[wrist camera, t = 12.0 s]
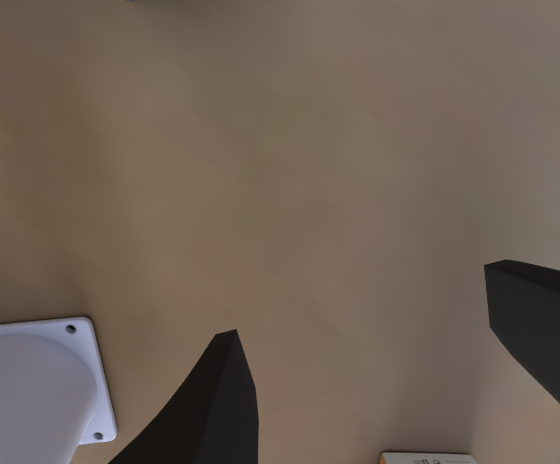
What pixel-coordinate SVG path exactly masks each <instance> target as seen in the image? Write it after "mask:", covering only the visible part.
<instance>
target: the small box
mask: <svg viewBox="0 0 560 464" xmlns="http://www.w3.org/2000/svg"><path fill="white" fill-rule="evenodd" d="M380 464H477V462H476V461H475V459H474V457H473V456H472V455H462V454H431V453H386V452H385V453H382V454H381V458H380Z"/></svg>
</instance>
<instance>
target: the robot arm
mask: <svg viewBox="0 0 560 464" xmlns="http://www.w3.org/2000/svg"><path fill="white" fill-rule="evenodd" d="M484 270H485V280H486V291H487V301H488V312H489V322H490V328H491V329H492V330H493V332H494V333H495V334H496V336H497V337H498V339H499V340H500V341H501V343H502V344H503V345H504V346H505V348H506V349H507V350H508V351H509V353H510V354H511V355H512V356H513V357H514V358H515V359H516V360H517V361H518V362H519V363H520V364H521V365H522V366H523V367H524V368H525V369H526V370H527V371H528V372H529V373H530V374H531V375H532V376H533V377H534V378H535V379H536V380H537V381H538V382H539V383H540V384H541V385H542V386H543V387H544V388H545V389H546V390H547V391H548V392H549V393H550V394H551V395H552V396H553V397H554V398H555V399H556V400H557V401H558V402H559V403H560V271H559V270H555V269H550V268H546V267H542V266H538V265H533V264H528V263H524V262H518V261H513V260H502V261H498V262H494V263H490V264H486V265H484ZM69 325H73V326H74V327H75V328H76V330H72V329H70V328H69ZM258 429H259V419H258V408H257V398H256V389H255V385H254V382H253V379H252V376H251V372H250V369H249V366H248V363H247V360H246V357H245V354H244V351H243V348H242V345H241V342H240V338H239V335H238V332H237V329H235V330H231V331H227V332H223V333H219V334H216V335H215V336H214V338H213V339H212V340H211V342H210V344H209V345H208V347H207V348H206V350H205V351H204V353H203V354H202V356H201V357H200V359H199V360H198V362H197V363H196V365H195V366H194V368H193V369H192V371H191V372H190V374H189V375H188V377H187V378H186V379H185V381H184V382H183V383H182V385H181V386H180V387H179V388H178V390H177V391H176V392H175V394H174V395H173V396H172V398H171V399H170V400H169V401H168V403H167V404H166V405H165V406H164V408H163V409H162V410H161V411H160V412H159V413H158V415H157V416H156V417H155V418H154V419H153V420H152V421H151V422H150V423H149V424H148V425H147V426H146V428H145V429H144V430H143V431H142V432H141V433H140V434H139V435H138V436H137V437H136V438H135V439H134V440H133V441H132V442H131V443H129V444H128V445H127V446H126V447H125V448H124V449H123V450H122V451H121V452H120V453H119V454H118V455H117V456H115V457H114V458H113V459H112V460H111V461H110V462H109V463H108V464H258ZM97 432H99V433H101V434H98V433H97ZM117 432H118V429H117V425H116V421H115V417H114V412H113V408H112V404H111V400H110V396H109V391H108V387H107V383H106V379H105V374H104V370H103V366H102V362H101V358H100V353H99V349H98V345H97V341H96V336H95V332H94V328H93V324H92V322H91V320H89V319H88V318H86V317H73V318H63V319H52V320H42V321H31V322H21V323H11V324H0V464H69V463H70V461H71V458H72V456H73V454H74V452H75V450H76V448H77V446H78V445H80V444H89V443H98V442H107V441H112V440H113V439H115V437H116V435H117Z"/></svg>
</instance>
